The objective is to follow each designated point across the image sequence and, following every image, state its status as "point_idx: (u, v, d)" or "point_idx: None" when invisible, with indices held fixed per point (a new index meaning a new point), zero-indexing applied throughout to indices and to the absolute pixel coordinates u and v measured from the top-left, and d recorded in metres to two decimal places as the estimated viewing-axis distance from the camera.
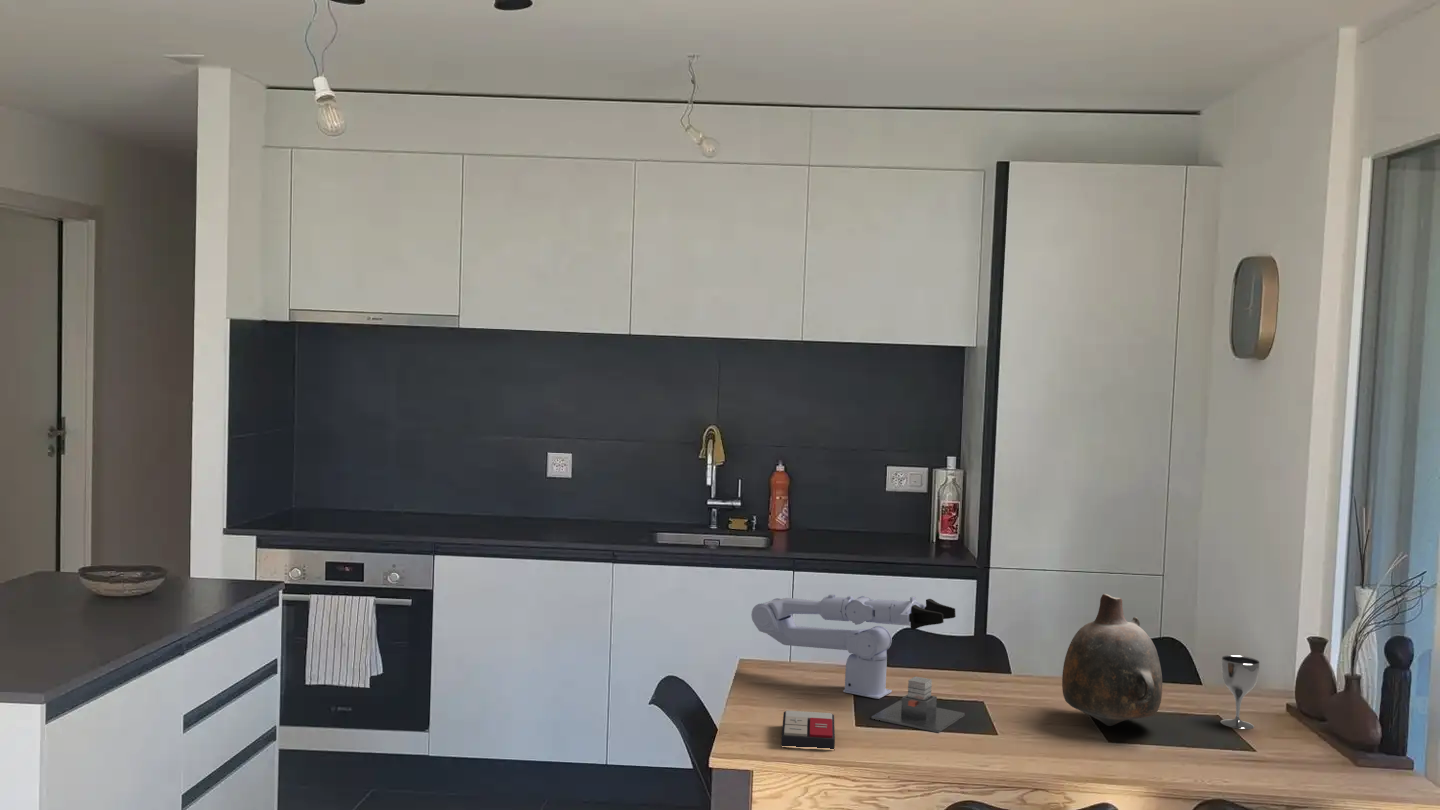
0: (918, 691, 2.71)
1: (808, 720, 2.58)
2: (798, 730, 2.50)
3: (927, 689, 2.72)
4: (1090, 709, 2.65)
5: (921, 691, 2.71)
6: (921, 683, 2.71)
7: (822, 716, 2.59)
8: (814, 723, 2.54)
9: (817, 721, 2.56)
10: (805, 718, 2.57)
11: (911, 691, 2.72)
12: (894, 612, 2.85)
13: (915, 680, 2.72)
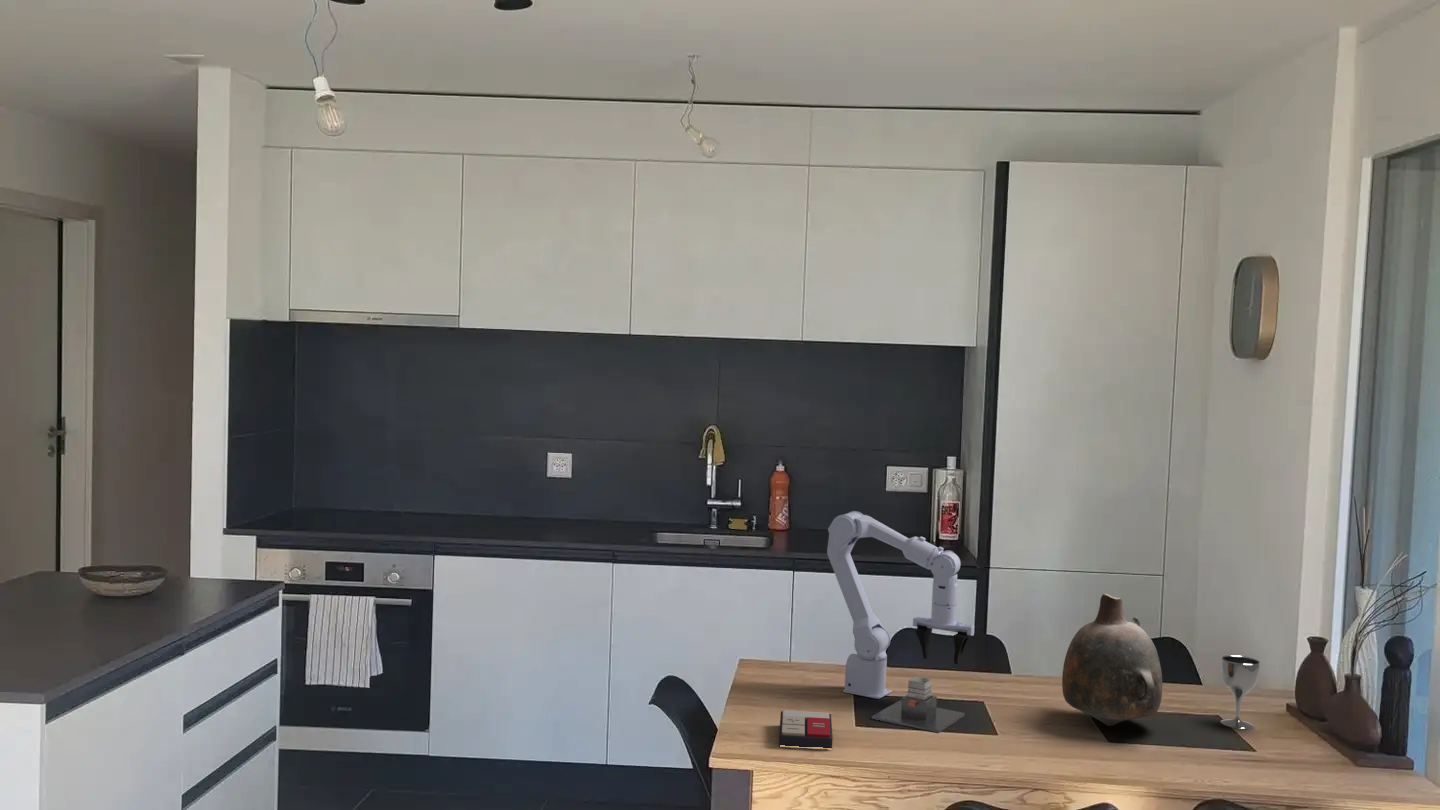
0: (918, 691, 2.71)
1: (805, 720, 2.58)
2: (796, 730, 2.50)
3: (927, 689, 2.72)
4: (1090, 709, 2.65)
5: (921, 691, 2.71)
6: (921, 683, 2.71)
7: (819, 716, 2.60)
8: (811, 723, 2.55)
9: (814, 721, 2.56)
10: (802, 718, 2.58)
11: (911, 691, 2.72)
12: None
13: (915, 680, 2.72)
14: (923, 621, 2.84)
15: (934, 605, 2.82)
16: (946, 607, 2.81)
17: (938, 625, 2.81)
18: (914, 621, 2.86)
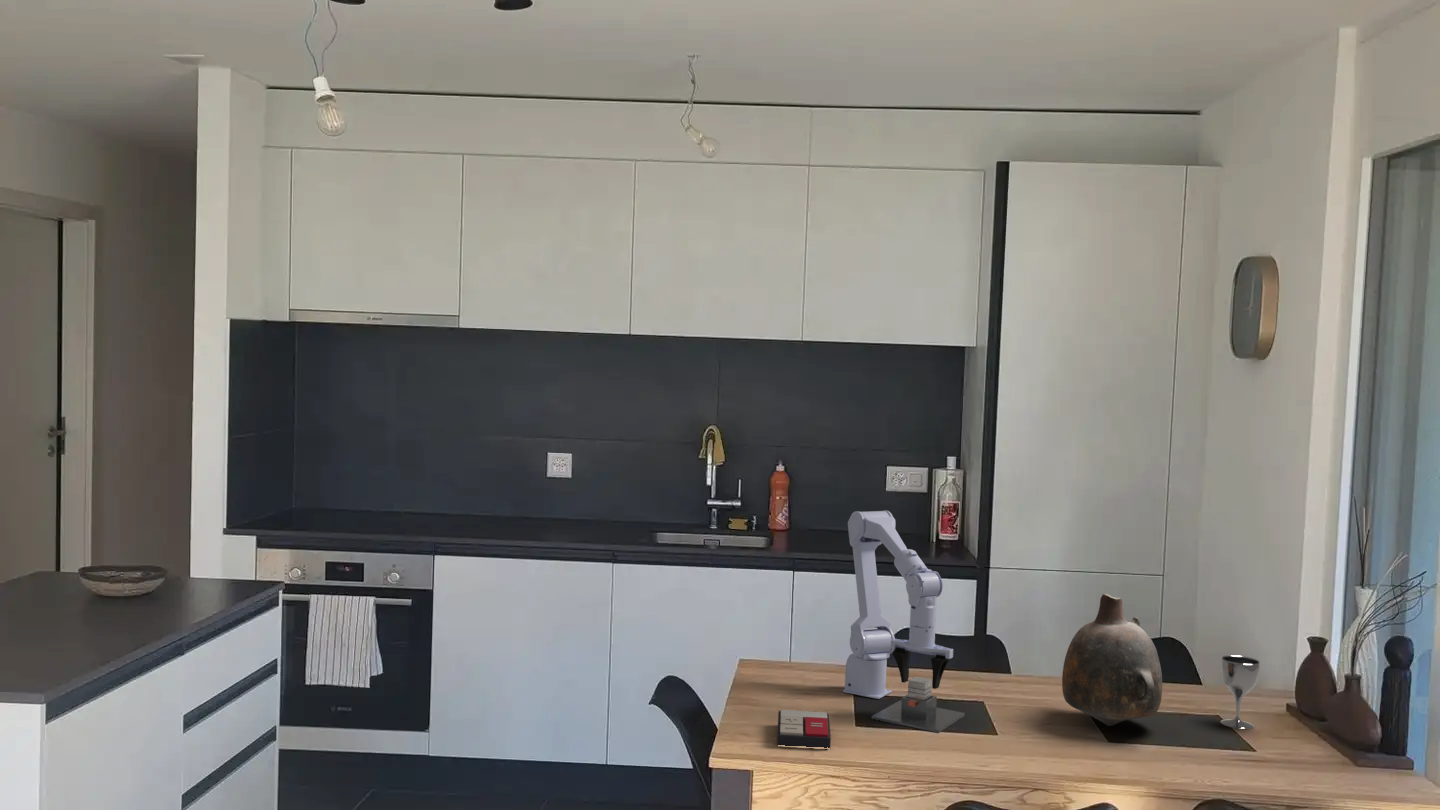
0: (918, 691, 2.71)
1: (803, 719, 2.58)
2: (794, 729, 2.50)
3: (927, 689, 2.72)
4: (1090, 709, 2.65)
5: (921, 691, 2.71)
6: (921, 683, 2.71)
7: (817, 715, 2.60)
8: (809, 722, 2.55)
9: (812, 720, 2.56)
10: (800, 717, 2.58)
11: (911, 691, 2.72)
12: (934, 631, 2.71)
13: (915, 680, 2.72)
14: (901, 643, 2.74)
15: (912, 627, 2.71)
16: (924, 629, 2.70)
17: (915, 648, 2.70)
18: (891, 643, 2.76)
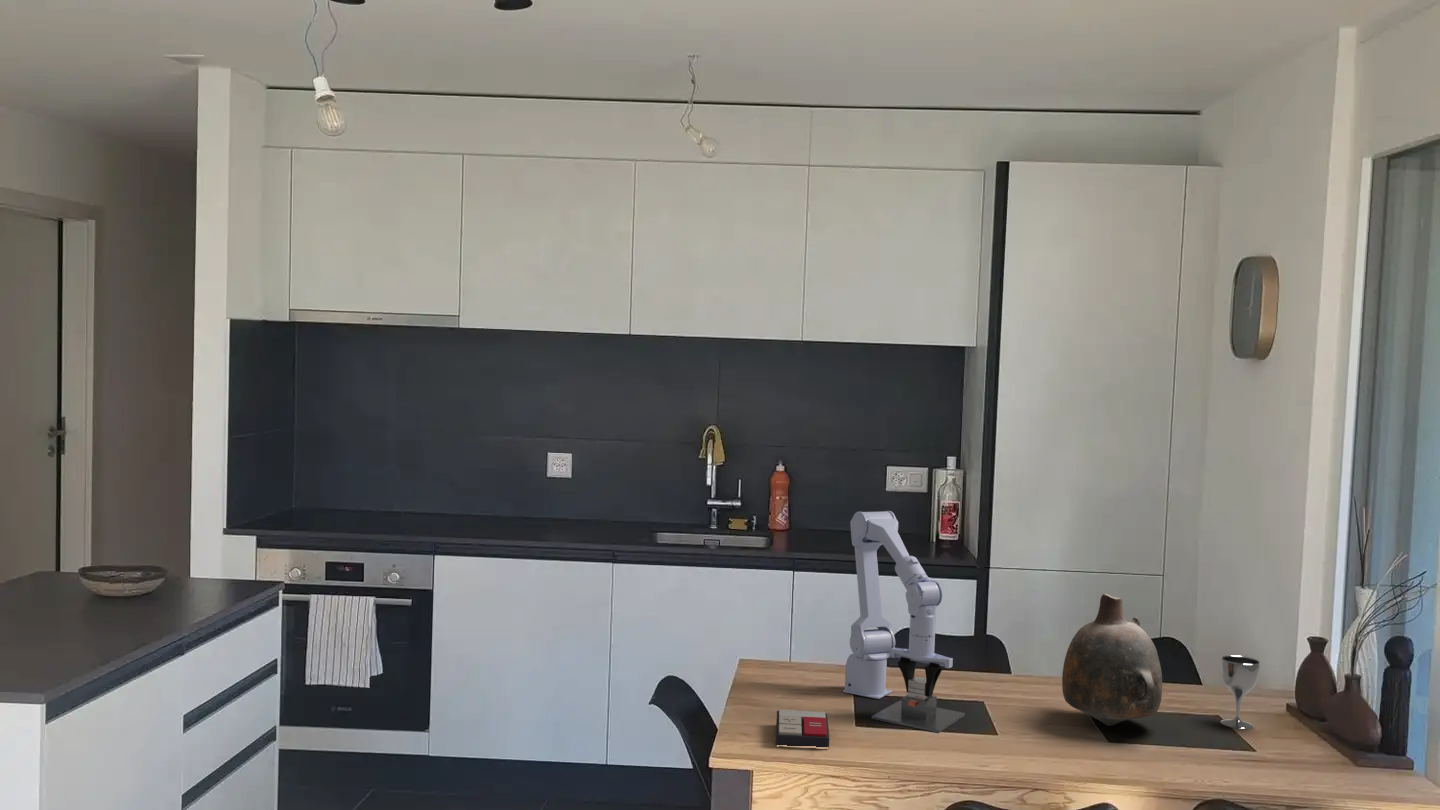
0: (918, 691, 2.71)
1: (802, 719, 2.58)
2: (792, 729, 2.51)
3: None
4: (1090, 709, 2.65)
5: (921, 691, 2.71)
6: (921, 683, 2.71)
7: (815, 715, 2.60)
8: (808, 722, 2.55)
9: (811, 720, 2.56)
10: (799, 717, 2.58)
11: (911, 691, 2.72)
12: (934, 640, 2.71)
13: (915, 680, 2.72)
14: (900, 652, 2.74)
15: (911, 636, 2.71)
16: (923, 638, 2.70)
17: (915, 657, 2.70)
18: (891, 652, 2.76)
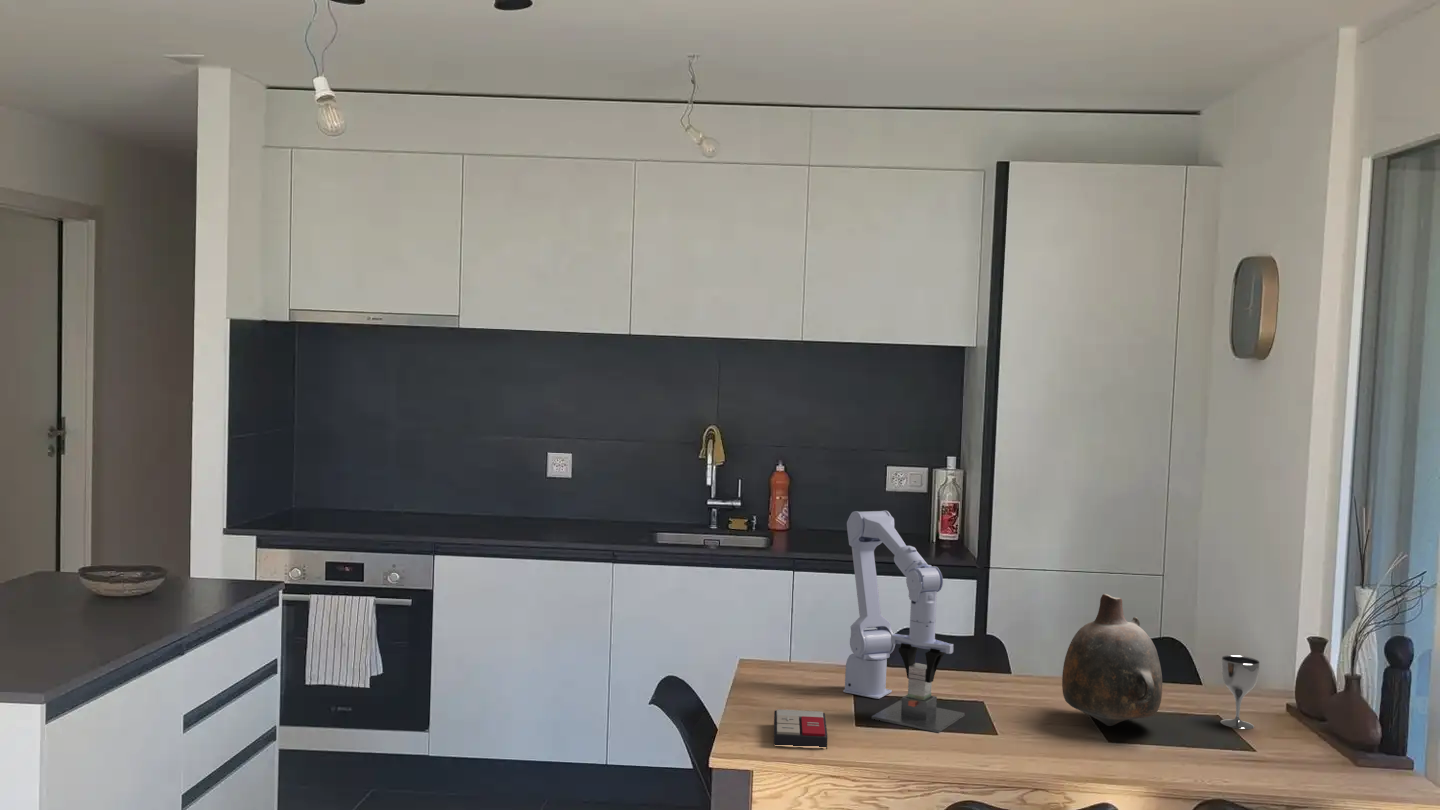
0: (919, 677, 2.71)
1: (799, 719, 2.58)
2: (791, 729, 2.51)
3: None
4: (1090, 709, 2.65)
5: (922, 677, 2.70)
6: (922, 669, 2.70)
7: (813, 715, 2.60)
8: (806, 722, 2.55)
9: (809, 720, 2.56)
10: (796, 717, 2.58)
11: (912, 677, 2.72)
12: (934, 626, 2.71)
13: (916, 666, 2.72)
14: (901, 638, 2.74)
15: (912, 622, 2.71)
16: (924, 624, 2.70)
17: (916, 643, 2.70)
18: (892, 638, 2.76)
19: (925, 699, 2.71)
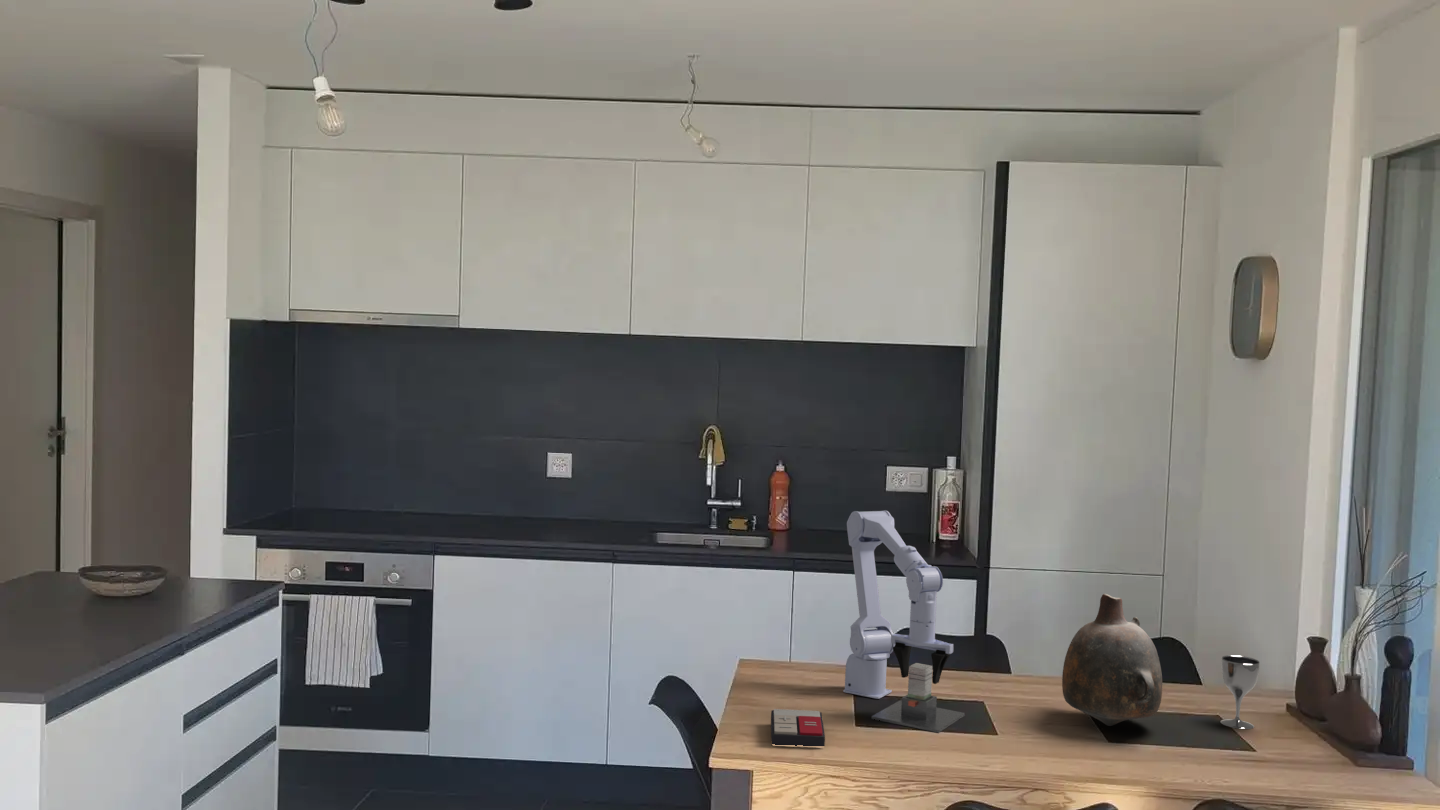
0: (919, 677, 2.71)
1: (796, 718, 2.59)
2: (788, 728, 2.51)
3: (927, 675, 2.71)
4: (1090, 709, 2.65)
5: (922, 677, 2.70)
6: (922, 669, 2.70)
7: (810, 714, 2.61)
8: (803, 721, 2.55)
9: (806, 719, 2.57)
10: (794, 716, 2.58)
11: (912, 677, 2.72)
12: (934, 626, 2.71)
13: (916, 666, 2.72)
14: (901, 638, 2.74)
15: (912, 622, 2.71)
16: (924, 624, 2.70)
17: (916, 643, 2.70)
18: (892, 638, 2.76)
19: (925, 699, 2.71)
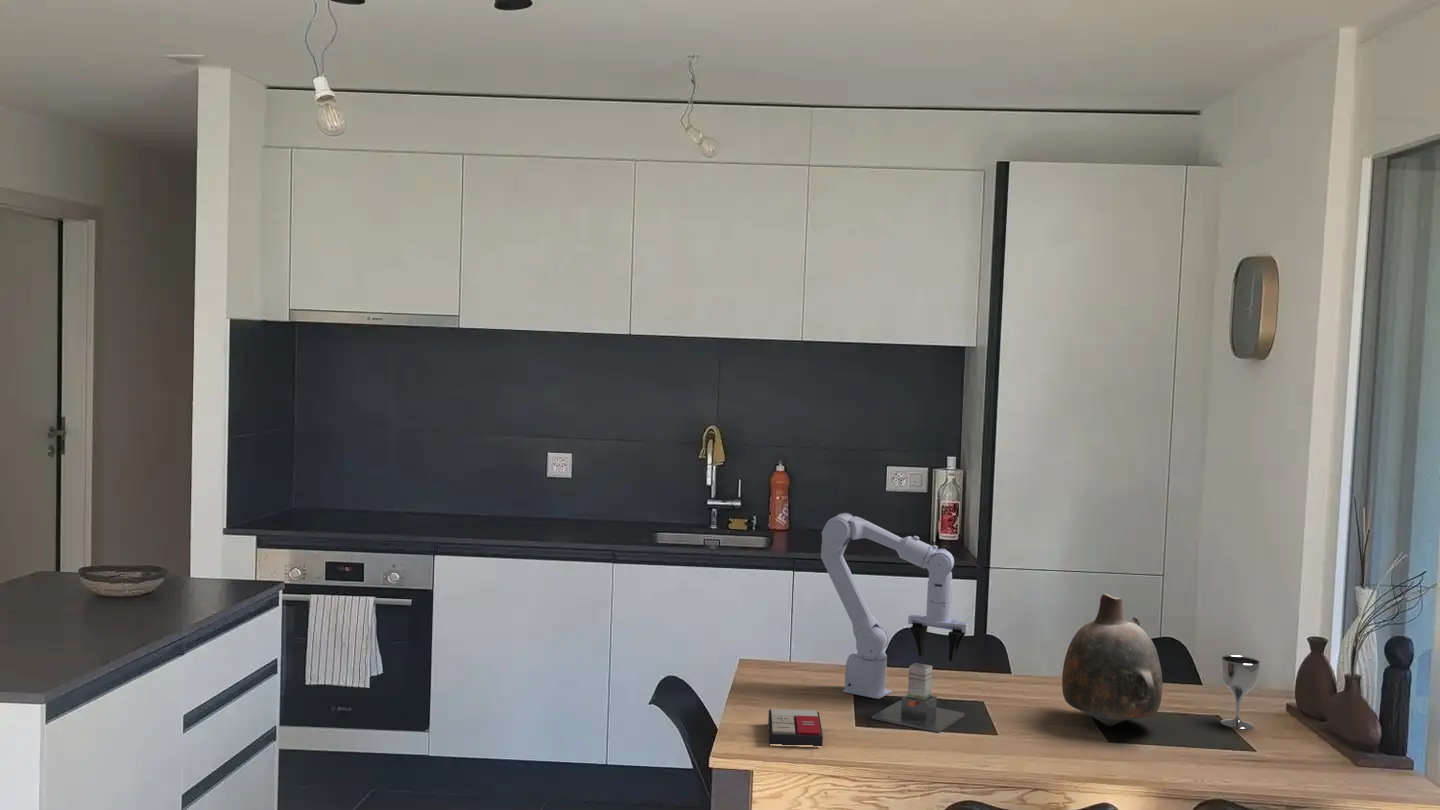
0: (919, 677, 2.71)
1: (794, 718, 2.59)
2: (786, 728, 2.51)
3: (927, 675, 2.71)
4: (1090, 709, 2.65)
5: (922, 677, 2.70)
6: (922, 669, 2.70)
7: (807, 714, 2.61)
8: (801, 721, 2.56)
9: (803, 719, 2.57)
10: (791, 716, 2.58)
11: (912, 677, 2.72)
12: (950, 607, 2.85)
13: (916, 666, 2.72)
14: (918, 619, 2.87)
15: (929, 603, 2.84)
16: (941, 605, 2.83)
17: (933, 623, 2.83)
18: (909, 618, 2.89)
19: (925, 699, 2.71)
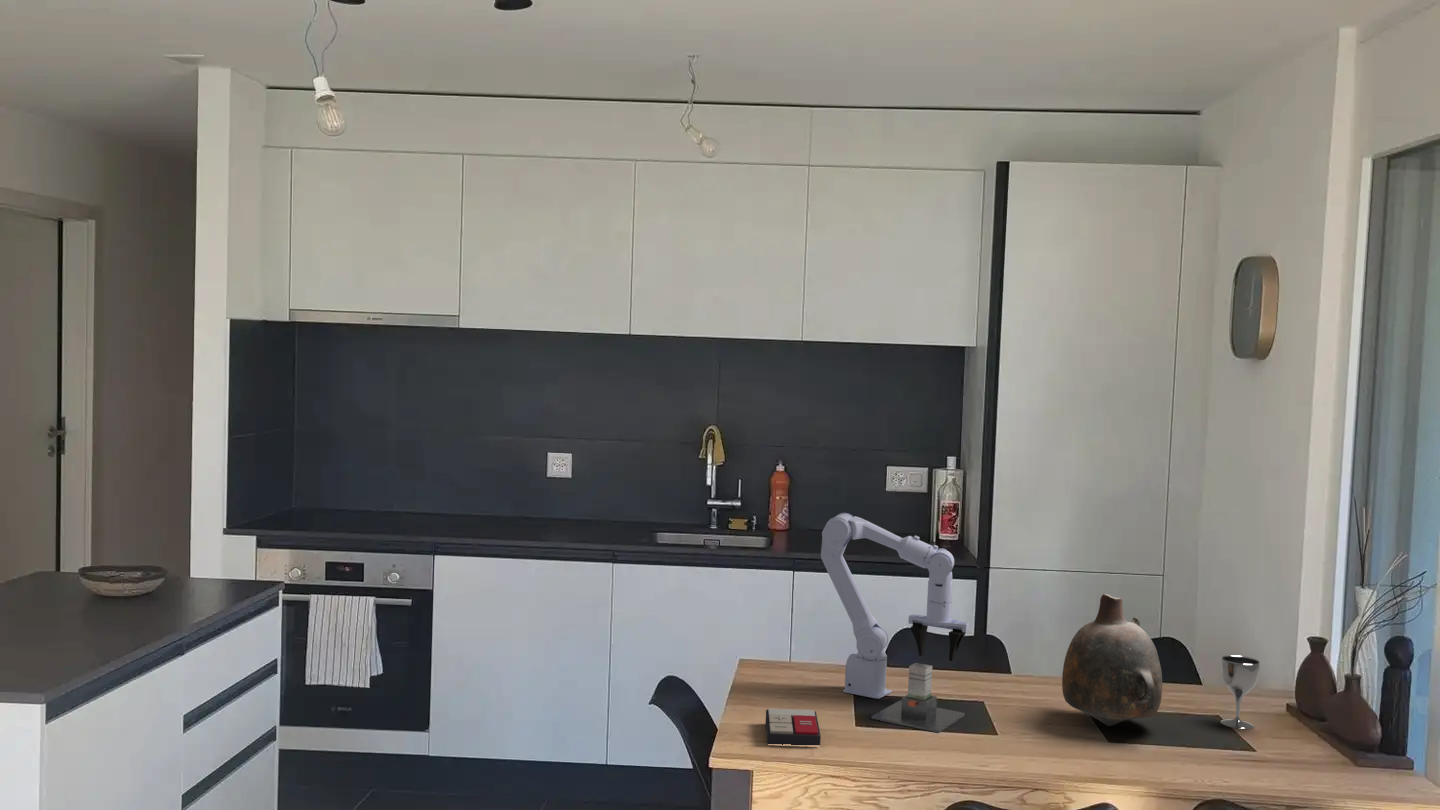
0: (919, 677, 2.71)
1: (791, 717, 2.59)
2: (784, 728, 2.51)
3: (927, 675, 2.71)
4: (1090, 709, 2.65)
5: (922, 677, 2.70)
6: (922, 669, 2.70)
7: (805, 713, 2.61)
8: (798, 720, 2.56)
9: (801, 718, 2.57)
10: (789, 716, 2.59)
11: (912, 677, 2.72)
12: None
13: (916, 666, 2.72)
14: (918, 618, 2.87)
15: (929, 603, 2.85)
16: (941, 604, 2.83)
17: (933, 622, 2.84)
18: (909, 618, 2.89)
19: (925, 699, 2.71)
